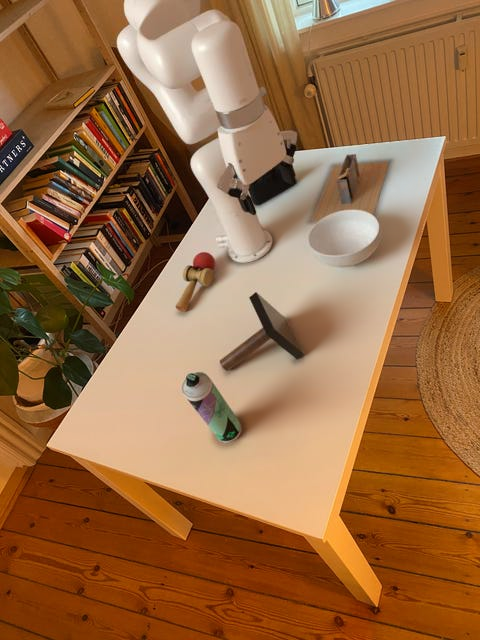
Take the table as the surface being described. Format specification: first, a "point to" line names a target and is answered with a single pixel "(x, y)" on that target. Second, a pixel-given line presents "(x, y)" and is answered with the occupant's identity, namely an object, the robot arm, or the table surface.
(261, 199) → the film camera
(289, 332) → the towel holder
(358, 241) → the cereal bowl
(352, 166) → the ruin model on sheet
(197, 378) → the spray can
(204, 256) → the kendama
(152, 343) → the table surface
